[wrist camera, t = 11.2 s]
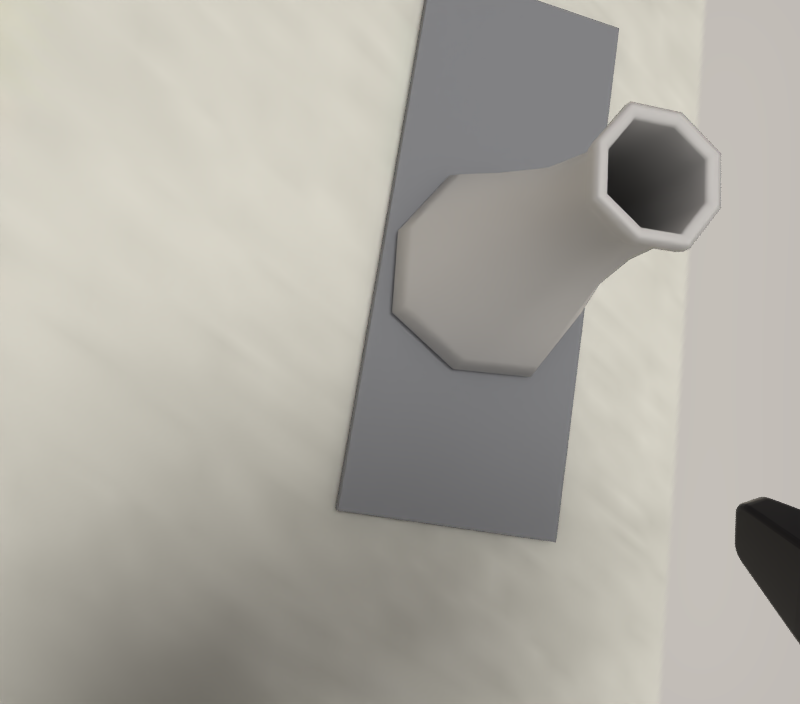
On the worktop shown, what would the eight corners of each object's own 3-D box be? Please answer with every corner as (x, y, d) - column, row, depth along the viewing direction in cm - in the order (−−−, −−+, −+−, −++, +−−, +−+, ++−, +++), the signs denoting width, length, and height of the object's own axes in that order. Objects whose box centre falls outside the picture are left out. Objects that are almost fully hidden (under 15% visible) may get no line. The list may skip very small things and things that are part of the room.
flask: (603, 234, 25) (834, 113, 16) (540, 410, 24) (751, 397, 14) (434, 145, 24) (571, -48, 14) (355, 326, 22) (451, 248, 13)
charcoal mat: (549, 540, 24) (555, 542, 23) (335, 508, 22) (338, 510, 22) (612, 35, 27) (619, 28, 27) (429, -27, 25) (433, -36, 25)
